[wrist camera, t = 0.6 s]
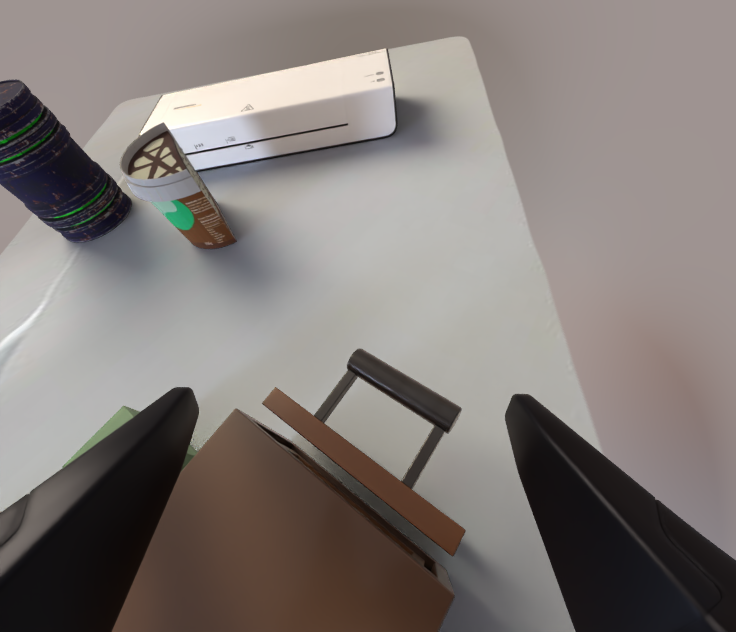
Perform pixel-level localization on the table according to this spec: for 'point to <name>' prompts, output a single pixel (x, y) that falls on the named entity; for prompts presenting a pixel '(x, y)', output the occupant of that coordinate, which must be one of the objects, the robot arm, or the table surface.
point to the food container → (174, 188)
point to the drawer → (364, 467)
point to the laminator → (282, 111)
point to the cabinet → (276, 550)
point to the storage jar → (54, 170)
